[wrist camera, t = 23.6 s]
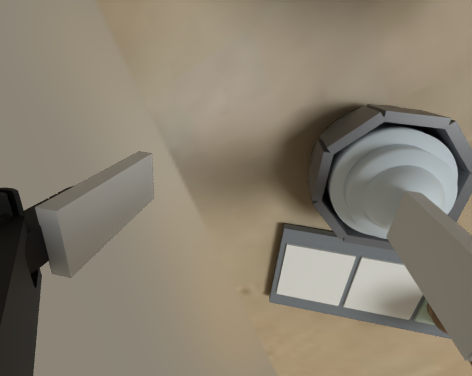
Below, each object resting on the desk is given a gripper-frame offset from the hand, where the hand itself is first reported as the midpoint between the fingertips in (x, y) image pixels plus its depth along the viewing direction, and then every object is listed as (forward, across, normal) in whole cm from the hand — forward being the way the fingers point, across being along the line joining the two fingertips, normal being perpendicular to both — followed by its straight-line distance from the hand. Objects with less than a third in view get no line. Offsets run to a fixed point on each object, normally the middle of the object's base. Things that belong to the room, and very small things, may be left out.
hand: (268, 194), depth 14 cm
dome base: (+8, +8, 0) cm, 11 cm away
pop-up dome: (+6, +8, 0) cm, 9 cm away
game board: (+8, +12, -11) cm, 18 cm away
